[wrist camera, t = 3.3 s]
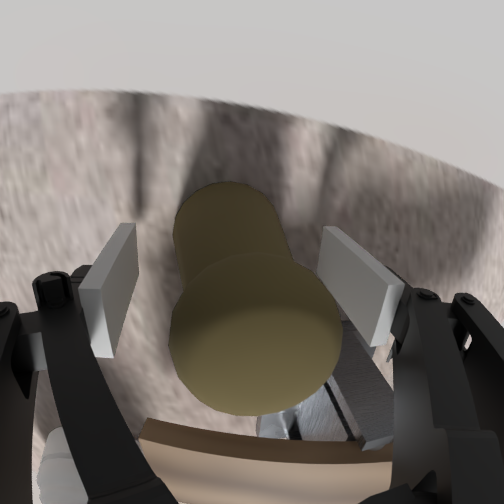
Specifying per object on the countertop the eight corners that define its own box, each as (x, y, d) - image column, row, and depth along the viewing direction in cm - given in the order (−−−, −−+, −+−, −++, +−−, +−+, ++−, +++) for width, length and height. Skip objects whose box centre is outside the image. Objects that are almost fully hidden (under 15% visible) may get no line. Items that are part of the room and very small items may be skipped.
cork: (194, 165, 16) (189, 237, 6) (297, 204, 18) (411, 308, 8) (159, 266, 18) (132, 424, 8) (255, 295, 20) (309, 446, 10)
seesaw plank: (149, 401, 15) (136, 431, 13) (523, 405, 14) (536, 426, 12) (169, 477, 19) (161, 500, 17) (463, 477, 17) (469, 496, 15)
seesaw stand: (269, 326, 21) (316, 453, 12) (375, 318, 22) (450, 414, 13) (255, 430, 25) (279, 528, 16) (339, 418, 26) (379, 503, 17)
